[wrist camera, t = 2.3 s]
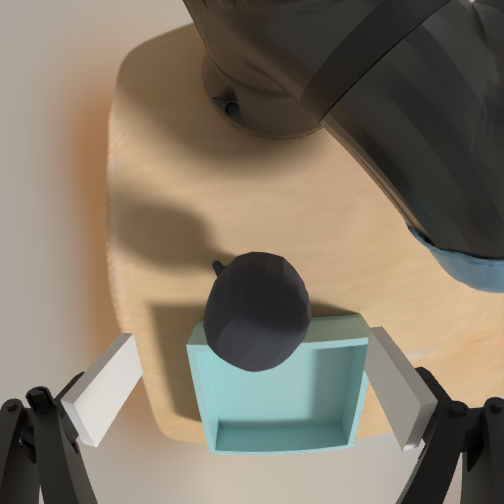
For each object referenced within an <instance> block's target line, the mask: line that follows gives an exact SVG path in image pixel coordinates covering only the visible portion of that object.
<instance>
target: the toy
mask: <svg viewBox="0 0 504 504" xmlns="http://www.w3.org/2000/svg"><path fill="white" fill-rule="evenodd" d="M212 266H213V269H214V270H215V273H216V275H217V279H216V280H215V282H214V285H213V287H212V290H211V293H210V295H209V298H208V301H207V305H206V310H205V318H204V325H203V328H204V332H205V336H206V340H207V344H208V346H209V347H210V348H211V350H212V351H213V352H214V353H215V354H216V355H217V356H218V357H219V358H221V359H222V360H224V361H226V362H227V363H229V364H231V365H233V366H235V367H237V368H240V369H242V370H245V371H249V372H260V371H265V370H269V369H273V368H274V367H276V366H278V365H280V364H282V363H283V362H284V361H285V360H286V359H288V358H289V357H290V356H291V355H292V354H293V352H294V351H295V350H296V349H297V347H298V346H299V345H300V344H301V343H302V341H303V340H304V339H305V338H306V334H307V331H308V328H309V324H310V320H311V315H312V313H311V308H310V303H309V297H308V292H307V290H306V288H305V284H304V282H303V280H302V279H301V277H300V276H299V274H298V273H297V271H296V270H295V268H294V267H293V266H292V265H291V264H290V263H289V262H288V261H287V260H286V259H285V258H284V257H281V256H277V255H274V254H270V253H264V252H250V253H246V254H243V255H239V256H238V257H236V258H235V259H234V260H233V261H232V262H231V263H230V264H229V265H228V266H223V265H222V264H221V262H219V261H214V262H213V263H212Z"/></svg>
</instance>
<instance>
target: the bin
mask: <svg viewBox="0 0 504 504" xmlns="http://www.w3.org/2000/svg"><path fill="white" fill-rule="evenodd" d="M203 325H204V321H198V322H197V324H196V326H195V328H194V330H193V332H192V334H191V336H190V338H189V340H188V342H187V344H186V347H187V353H188V358H189V363H190V369H191V374H192V379H193V384H194V389H195V393H196V398H197V403H198V407H199V411H200V416H201V420H202V424H203V428H204V433H205V437H206V441H207V444H208V448H209V452H210V453H213V454H228V455H285V454H301V453H313V452H323V451H331V450H338V449H345V448H352V447H353V443H354V440H355V436H356V433H357V429H358V425H359V421H360V417H361V413H362V409H363V404H364V400H365V395H366V391H367V386H368V381H369V379H368V377H367V375H366V373H365V371H364V365H365V358H366V352H367V344H368V337H369V329H370V327H369V325H368V324H367V323H366V321H365V320H364V318H363V317H362V315H361V314H355V315H343V316H330V317H315V318H311V320H310V324H309V328H308V331H307V334H306V338H305V339H304V340H303V341H302V343H301V344H300V345H299V346H298V347H297V349H296V350H295V351H294V352H293V354H292V355H291V356H290V357H289V358H288V359H286V360H285V361H284V362H283V363H282V364H280V365H278V366H276V367H274V368H273V369H269V370H265V371H260V372H249V371H245V370H242V369H240V368H237V367H235V366H233V365H231V364H229V363H227V362H226V361H224V360H222V359H221V358H219V357H218V356H217V355H216V354H215V353H214V352H213V351H212V350H211V348H210V347H209V346H208V344H207V340H206V336H205V332H204V328H203Z"/></svg>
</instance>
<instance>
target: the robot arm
mask: <svg viewBox="0 0 504 504" xmlns="http://www.w3.org/2000/svg"><path fill="white" fill-rule="evenodd" d="M183 2H184V4H185V6H186V7H187V9H188V11H189V13H190V15H191V17H192V19H193V21H194V23H195V25H196V27H197V29H198V31H199V33H200V35H201V38H202V40H203V42H204V44H205V46H206V48H207V49H206V52H205V56H204V60H203V80H204V85H205V88H206V91H207V94H208V96H209V98H210V99H211V101H212V103H213V104H214V106H215V107H216V109H217V110H218V111H219V113H220V114H221V115H222V116H223V117H224V118H225V119H226V120H227V121H229V122H230V123H231V124H233V125H234V126H235V127H237V128H239V129H241V130H243V131H245V132H247V133H249V134H252V135H255V136H258V137H263V138H268V139H293V138H298V137H302V136H306V135H309V134H311V133H314V132H316V131H318V130H320V129H321V128H323V127H324V128H325V129H326V130H327V131H328V132H329V133H330V134H331V135H332V136H333V137H334V138H335V139H336V140H337V141H338V142H339V143H340V144H341V145H342V146H343V147H344V148H345V149H346V150H347V151H348V152H349V153H350V154H351V155H352V157H353V158H354V159H355V160H356V161H357V162H358V163H359V164H360V165H361V167H362V168H363V169H364V170H365V171H366V172H367V173H368V175H369V176H370V177H371V178H372V179H373V180H374V182H375V183H376V184H377V185H378V186H379V188H380V189H381V190H382V191H383V193H384V194H385V195H386V196H387V197H388V199H389V200H390V201H391V203H392V204H393V205H394V206H395V208H396V209H397V210H398V212H399V213H400V214H401V215H402V217H403V218H404V220H405V222H406V224H407V226H408V229H409V230H410V232H411V233H412V235H413V236H414V237H415V238H416V239H417V240H418V241H419V242H420V243H422V244H423V245H424V246H426V247H427V248H428V249H429V251H430V252H431V253H432V255H433V256H434V257H435V259H436V260H437V261H438V263H439V264H440V265H441V267H442V268H443V269H444V270H445V271H446V272H447V273H448V274H449V275H451V276H452V277H453V278H454V279H456V280H458V281H460V282H463V283H464V284H466V285H468V286H469V287H471V288H474V289H476V290H480V291H484V292H490V293H504V0H475V1H474V2H473V3H471V2H470V1H469V0H183ZM364 371H365V373H366V375H367V377H368V379H369V381H370V383H371V385H372V387H373V389H374V391H375V393H376V395H377V397H378V399H379V401H380V404H381V406H382V408H383V410H384V412H385V414H386V416H387V418H388V421H389V423H390V425H391V427H392V429H393V431H394V434H395V436H396V438H397V440H398V442H399V445H400V447H401V449H402V451H405V450H409V449H412V448H415V447H418V446H419V444H420V442H421V439H422V438H423V440H424V442H425V446H424V448H423V450H422V452H421V454H420V456H419V457H418V461H417V464H416V466H415V468H414V470H413V472H412V474H411V476H410V478H409V480H408V482H407V484H406V486H405V488H404V489H403V491H402V493H401V495H400V497H399V499H398V500H397V502H396V504H443V501H444V499H445V496H446V494H447V491H448V489H449V486H450V483H451V481H452V478H453V474H454V472H455V469H456V465H457V462H458V459H459V456H460V453H461V452H462V453H463V455H462V459H463V463H462V490H461V502H460V504H504V399H501V398H499V397H492V398H489V399H487V400H486V402H485V404H484V406H483V407H480V408H468V406H467V405H466V404H464V403H463V402H460V401H452V399H451V398H450V397H449V396H448V394H447V393H446V392H445V390H444V389H443V388H442V386H441V385H440V384H439V383H438V381H437V380H436V379H435V377H434V376H433V375H432V374H431V372H430V371H428V370H426V369H425V368H423V367H418V368H414V367H413V366H412V365H411V363H410V362H409V361H408V359H407V358H406V357H405V355H404V354H403V353H402V351H401V350H400V349H399V347H398V346H397V345H396V344H395V342H394V341H393V340H392V338H391V337H390V336H389V335H388V333H387V332H386V331H385V329H384V328H383V327H374V328H370V329H369V337H368V344H367V352H366V358H365V365H364ZM142 374H143V370H142V367H141V363H140V359H139V356H138V352H137V348H136V344H135V340H134V335H133V334H132V333H121V334H120V335H119V336H118V338H116V339H115V341H114V342H113V343H112V344H111V345H110V346H109V347H108V348H107V349H106V350H105V351H104V352H103V353H102V354H101V356H100V357H99V358H98V359H97V360H96V361H95V362H94V363H93V364H92V365H91V366H90V368H89V369H88V370H87V371H86V372H81V373H80V374H78V375H76V376H75V377H74V378H73V379H72V380H71V381H70V383H68V384H67V385H66V387H65V388H64V389H63V390H62V391H61V392H60V393H59V394H58V395H57V396H56V398H55V399H53V397H52V395H51V393H50V391H49V389H48V388H46V387H43V386H39V387H35V388H33V389H31V390H29V391H28V392H27V394H26V399H27V401H28V403H29V405H30V407H31V408H24V406H23V404H22V402H21V401H20V400H19V399H10V400H7V401H6V402H5V403H4V404H3V405H2V407H1V410H0V504H39V489H40V485H41V491H42V495H43V500H44V504H98V503H97V500H96V498H95V495H94V492H93V490H92V487H91V484H90V482H89V478H88V475H87V473H86V469H85V466H84V463H83V460H82V456H81V453H80V449H79V446H78V444H77V442H76V438H77V437H78V435H79V436H80V438H81V440H82V441H83V443H84V444H87V445H90V446H94V447H97V446H98V444H99V443H100V441H101V439H102V438H103V436H104V434H105V433H106V431H107V429H108V428H109V426H110V424H111V423H112V421H113V420H114V418H115V416H116V415H117V413H118V412H119V410H120V408H121V407H122V405H123V404H124V402H125V400H126V399H127V397H128V396H129V394H130V392H131V391H132V389H133V388H134V386H135V385H136V383H137V381H138V380H139V378H140V377H141V375H142ZM19 439H20V442H19Z"/></svg>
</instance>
